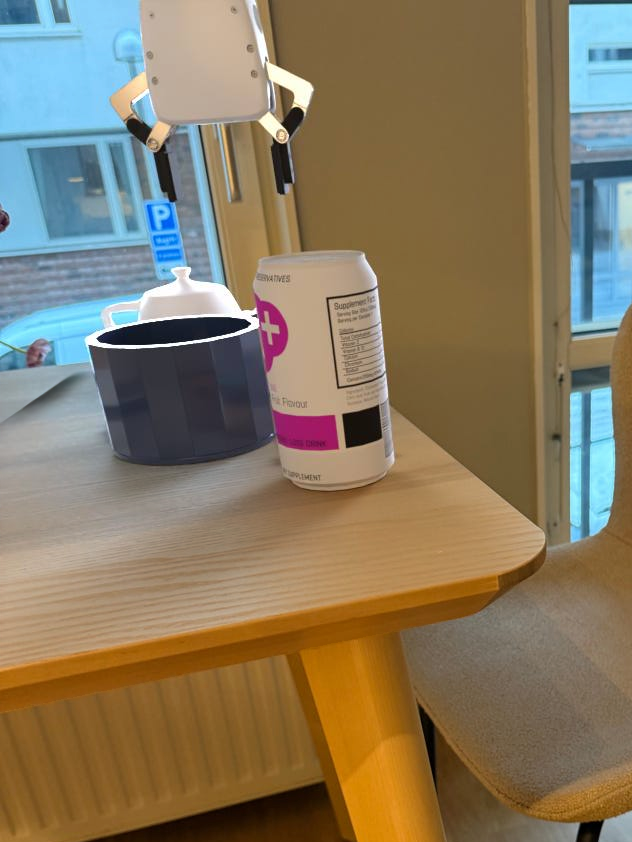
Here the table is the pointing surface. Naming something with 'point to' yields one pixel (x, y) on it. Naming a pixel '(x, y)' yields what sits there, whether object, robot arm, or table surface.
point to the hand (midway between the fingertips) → (230, 197)
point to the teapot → (177, 300)
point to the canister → (183, 388)
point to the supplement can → (325, 367)
